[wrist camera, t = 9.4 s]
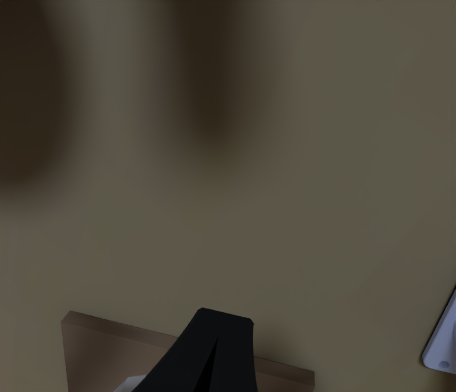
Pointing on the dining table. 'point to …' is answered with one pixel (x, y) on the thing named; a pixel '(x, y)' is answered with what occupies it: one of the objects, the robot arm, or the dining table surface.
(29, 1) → the dining table surface
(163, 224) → the dining table surface
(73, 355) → the collar
